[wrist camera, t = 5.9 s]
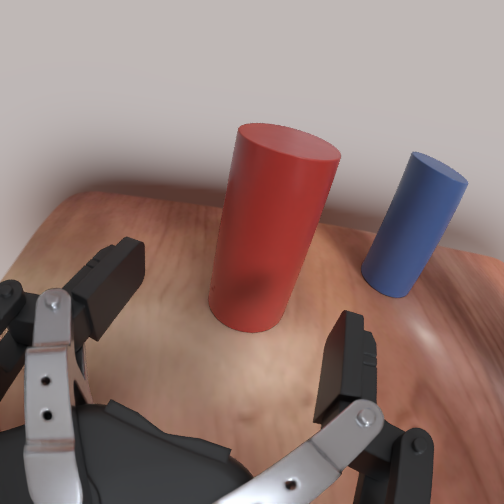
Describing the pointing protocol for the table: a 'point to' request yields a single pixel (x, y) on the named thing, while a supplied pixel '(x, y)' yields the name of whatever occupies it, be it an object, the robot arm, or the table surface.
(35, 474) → the robot arm
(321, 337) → the table surface
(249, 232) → the red tin
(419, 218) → the blue tin
